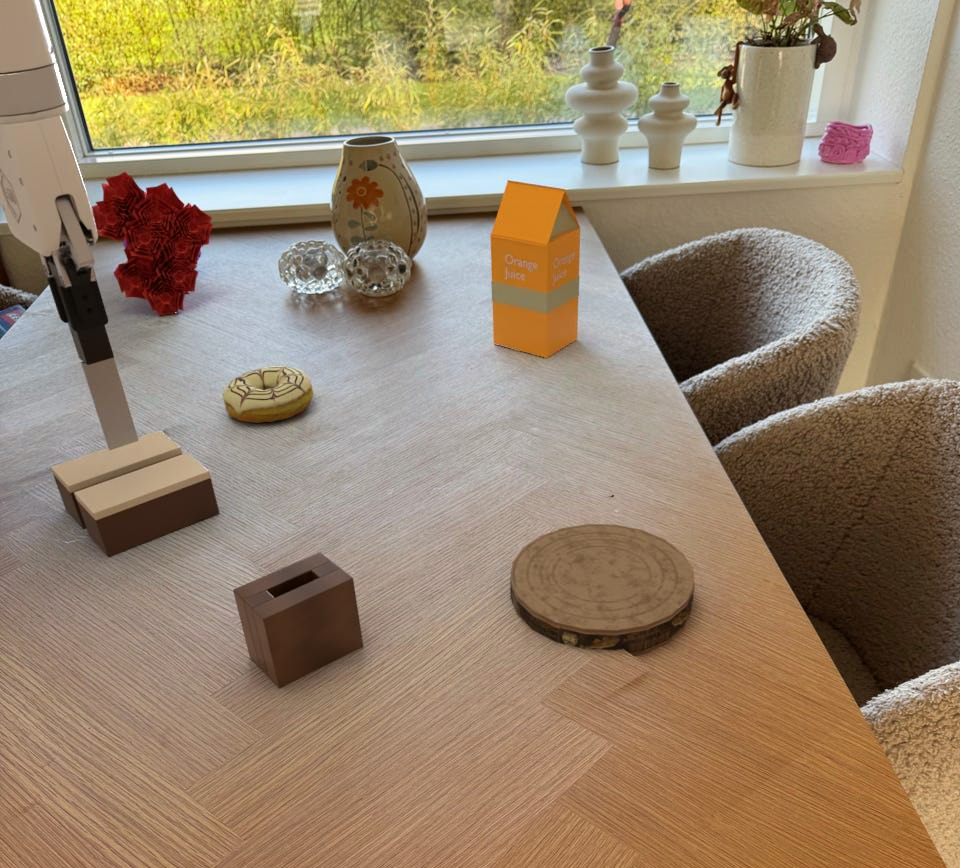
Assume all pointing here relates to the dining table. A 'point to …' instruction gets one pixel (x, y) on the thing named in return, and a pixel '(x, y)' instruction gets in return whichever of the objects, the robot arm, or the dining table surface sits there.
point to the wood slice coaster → (603, 588)
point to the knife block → (299, 618)
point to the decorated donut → (268, 394)
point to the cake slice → (147, 503)
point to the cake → (110, 466)
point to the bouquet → (153, 240)
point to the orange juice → (535, 269)
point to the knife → (102, 379)
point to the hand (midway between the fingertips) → (84, 321)
